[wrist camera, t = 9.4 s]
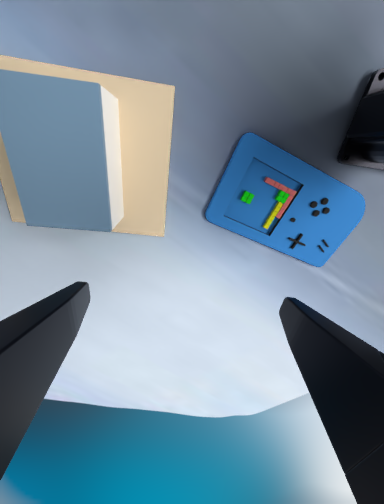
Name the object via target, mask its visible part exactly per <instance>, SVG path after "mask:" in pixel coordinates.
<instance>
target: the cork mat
mask: <svg viewBox="0 0 384 504" xmlns="http://www.w3.org/2000/svg"><path fill="white" fill-rule="evenodd" d="M0 69H3V70H10V71H17V72H24V73H31V74H38V75H45V76H53V77H60V78H67V79H74V80H81V81H88V82H95V83H99V84H100V85H101V86H102V87H104V88H105V89H106V90H107V91H109V92H110V93H111V94H112V95H114V96H115V97H116V98H117V99H118V108H119V128H120V148H121V168H122V187H123V207H124V217H123V218H122V219H121V221H120V222H119V223H118V224H117V225H116V226H115V228H114V229H113V230H112V231H111V232H121V233H131V234H141V235H150V236H160V237H164V230H165V216H166V203H167V189H168V175H169V162H170V148H171V135H172V121H173V107H174V94H175V86H171V85H165V84H160V83H154V82H149V81H143V80H137V79H132V78H126V77H121V76H115V75H110V74H104V73H98V72H93V71H87V70H82V69H76V68H71V67H65V66H59V65H54V64H48V63H43V62H37V61H31V60H26V59H20V58H15V57H9V56H4V55H0ZM0 180H1V183H2V187H3V190H4V194H5V197H6V201H7V204H8V208H9V211H10V215H11V219H12V221H13V222H23V223H26V220H25V217H24V213H23V210H22V206H21V203H20V199H19V196H18V192H17V189H16V185H15V181H14V178H13V174H12V171H11V167H10V164H9V160H8V157H7V153H6V150H5V146H4V142H3V139H2V135H1V132H0Z"/></svg>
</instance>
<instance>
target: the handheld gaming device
mask: <svg viewBox="0 0 384 504" xmlns="http://www.w3.org/2000/svg"><path fill="white" fill-rule="evenodd" d="M364 211H365V200H364V198H363V196H362V195H361V194H360V193H359V192H357V191H356V190H354V189H352V188H350V187H348V186H347V185H345V184H343V183H341V182H340V181H338V180H336V179H334V178H332V177H331V176H329V175H327V174H325V173H323V172H322V171H320V170H318V169H316V168H315V167H313V166H311V165H309V164H307V163H306V162H304V161H302V160H300V159H298V158H297V157H295V156H293V155H291V154H290V153H288V152H286V151H284V150H282V149H281V148H279V147H277V146H275V145H273V144H272V143H270V142H268V141H266V140H265V139H263V138H261V137H259V136H257V135H256V134H254V133H246V134H244V135H243V136H242V137H241V138H240V140H239V142H238V144H237V147H236V149H235V151H234V153H233V155H232V157H231V159H230V161H229V163H228V165H227V167H226V170H225V172H224V174H223V176H222V178H221V180H220V182H219V184H218V186H217V188H216V191H215V193H214V195H213V197H212V199H211V201H210V203H209V205H208V207H207V209H206V212H205V216H206V219H207V220H208V221H209V222H211V223H213V224H215V225H218V226H220V227H223V228H225V229H227V230H230V231H232V232H235V233H237V234H239V235H242V236H244V237H247V238H249V239H251V240H254V241H256V242H258V243H261V244H263V245H266V246H268V247H270V248H273V249H275V250H278V251H280V252H282V253H285V254H287V255H290V256H292V257H294V258H297V259H299V260H301V261H304V262H306V263H309V264H311V265H313V266H316V267H321V266H323V265H324V264H325V263H326V261H327V260H328V259H329V258H330V257H331V255H332V254H333V253H334V252H335V251H336V249H337V248H338V247H339V246H340V245H341V244H342V242H343V241H344V240H345V239H346V238H347V236H348V235H349V234H350V233H351V232H352V230H353V229H354V228H355V227H356V226H357V224H358V223H359V222H360V220H361V219H362V217H363V214H364Z"/></svg>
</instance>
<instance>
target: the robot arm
mask: <svg viewBox="0 0 384 504" xmlns="http://www.w3.org/2000/svg"><path fill="white" fill-rule="evenodd" d="M379 74H380V79H379V80H378V76H379ZM345 155H346V158H345V159H344V156H345ZM338 162H339V163H343V164H350V165H356V166H363V167H369V168H376V169H382V170H384V68H382V69H379V70H377V71H375V72H374V73H373V74H372V76H371V78H370V81H369V83H368V85H367V88H366V90H365V93H364V95H363V97H362V100H361V101H360V104H359V106H358V109H357V111H356V113H355V116H354V118H353V121H352V123H351V125H350V128H349V130H348V133H347V136H346V138H345V141H344V143H343V146H342V148H341V150H340V153H339V155H338ZM89 303H90V291H89V284H88V283H87V282H76V283H74V284H72V285H70V286H68V287H66V288H64V289H62V290H60V291H58V292H56V293H54V294H52V295H50V296H48V297H46V298H44V299H42V300H41V301H39V302H37V303H35V304H33V305H31V306H29V307H27V308H25V309H23V310H21V311H19V312H17V313H15V314H13V315H11V316H9V317H7V318H6V319H4V320H2V321H0V480H1V478H2V477H3V475H4V473H5V471H6V469H7V467H8V465H9V463H10V461H11V459H12V458H13V456H14V454H15V452H16V450H17V448H18V446H19V444H20V442H21V440H22V438H23V437H24V435H25V433H26V431H27V429H28V427H29V425H30V423H31V421H32V420H33V418H34V416H35V414H36V412H37V410H38V408H39V406H40V404H41V402H42V401H43V399H44V397H45V395H46V393H47V391H48V389H49V387H50V385H51V383H52V381H53V380H54V378H55V376H56V374H57V372H58V370H59V368H60V366H61V364H62V362H63V361H64V359H65V357H66V355H67V353H68V351H69V349H70V347H71V345H72V343H73V341H74V340H75V337H76V335H77V333H78V331H79V328H80V326H81V323H82V321H83V318H84V315H85V313H86V310H87V308H88V305H89ZM279 315H280V318H281V322H282V325H283V328H284V331H285V334H286V337H287V340H288V343H289V346H290V348H291V351H292V353H293V355H294V358H295V360H296V362H297V365H298V367H299V369H300V372H301V374H302V376H303V379H304V381H305V383H306V386H307V388H308V390H309V393H310V395H311V397H312V399H313V402H314V404H315V406H316V409H317V411H318V413H319V416H320V418H321V420H322V423H323V425H324V427H325V430H326V432H327V434H328V436H329V439H330V441H331V443H332V446H333V448H334V450H335V453H336V455H337V457H338V460H339V462H340V464H341V467H342V469H343V471H344V473H345V476H346V479H347V481H348V483H349V485H350V488H351V490H352V492H353V495H354V497H355V499H356V502H357V504H384V353H382V352H380V351H378V350H377V349H376V348H374V347H372V346H371V345H369V344H368V343H366V342H364V341H363V340H361V339H360V338H358V337H356V336H355V335H353V334H352V333H350V332H348V331H347V330H345V329H344V328H342V327H340V326H339V325H337V324H336V323H334V322H333V321H331V320H329V319H328V318H326V317H325V316H323V315H321V314H320V313H318V312H317V311H315V310H313V309H312V308H310V307H309V306H307V305H305V304H304V303H302V302H301V301H299V300H297V299H296V298H291V297H286V298H285V299H284V301H283V303H282V305H281V308H280V310H279Z"/></svg>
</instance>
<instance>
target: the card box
mask: <svg viewBox="0 0 384 504" xmlns="http://www.w3.org/2000/svg"><path fill="white" fill-rule="evenodd" d="M0 132H1V135H2V139H3V142H4V146H5V150H6V153H7V157H8V160H9V164H10V167H11V171H12V174H13V178H14V181H15V185H16V189H17V192H18V196H19V199H20V203H21V206H22V210H23V213H24V217H25V220H26V224H27V226H39V227H52V228H65V229H78V230H91V231H104V232H111V231H112V230H113V229H114V228H115V226H116V225H117V224H118V223H119V222H120V221H121V219H122V218H123V217H124V207H123V187H122V168H121V148H120V128H119V108H118V99H117V98H116V97H115V96H114V95H112V94H111V93H110V92H109V91H107V90H106V89H105V88H104V87H102V86H101V85H100V84H99V83H95V82H88V81H81V80H74V79H67V78H60V77H53V76H45V75H38V74H31V73H24V72H17V71H10V70H3V69H0Z"/></svg>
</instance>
